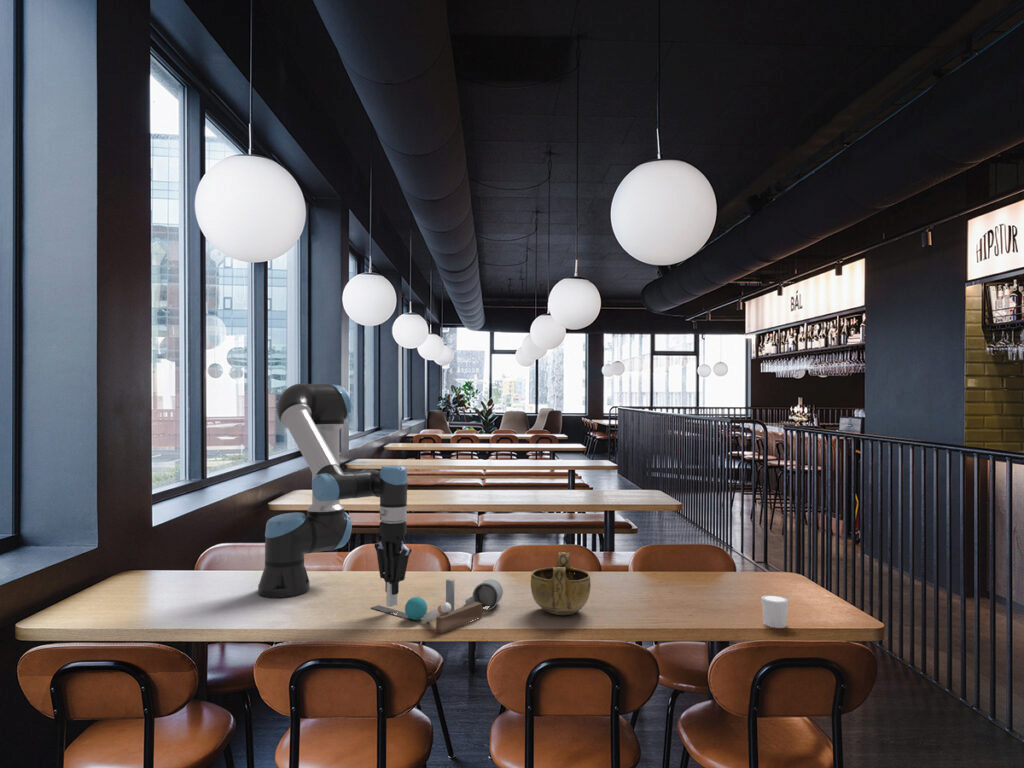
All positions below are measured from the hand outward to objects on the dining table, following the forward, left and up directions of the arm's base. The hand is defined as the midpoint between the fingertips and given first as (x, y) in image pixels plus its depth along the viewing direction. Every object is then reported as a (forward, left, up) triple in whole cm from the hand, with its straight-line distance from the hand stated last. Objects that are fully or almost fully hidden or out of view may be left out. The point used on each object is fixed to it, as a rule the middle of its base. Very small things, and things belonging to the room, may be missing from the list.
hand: (391, 605), depth 183 cm
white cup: (+88, +58, -2) cm, 105 cm away
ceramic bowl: (+37, +30, -2) cm, 48 cm away
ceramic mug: (+17, +20, -2) cm, 27 cm away
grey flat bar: (+1, 0, -2) cm, 2 cm away
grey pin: (+13, +10, -2) cm, 17 cm away
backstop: (+22, +4, -2) cm, 22 cm away
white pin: (+14, 0, -1) cm, 14 cm away
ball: (+10, 0, +1) cm, 10 cm away
